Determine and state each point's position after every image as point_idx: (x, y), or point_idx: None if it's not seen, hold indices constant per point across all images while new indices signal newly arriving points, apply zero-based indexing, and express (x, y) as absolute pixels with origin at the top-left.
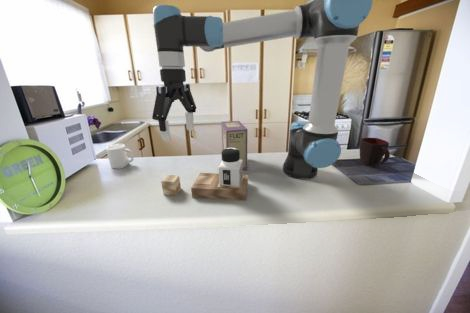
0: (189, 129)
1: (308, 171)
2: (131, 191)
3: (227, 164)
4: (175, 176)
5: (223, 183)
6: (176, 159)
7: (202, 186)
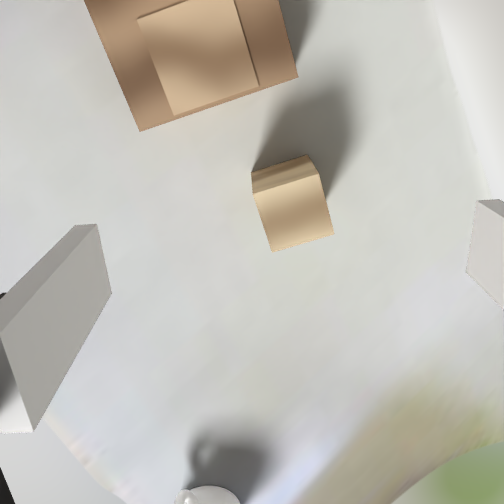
0: (103, 265)
1: None
2: (345, 332)
3: None
4: (269, 203)
5: None
6: None
7: (262, 24)
